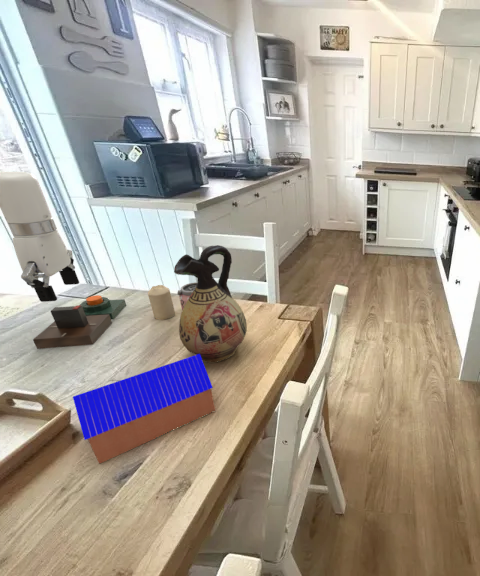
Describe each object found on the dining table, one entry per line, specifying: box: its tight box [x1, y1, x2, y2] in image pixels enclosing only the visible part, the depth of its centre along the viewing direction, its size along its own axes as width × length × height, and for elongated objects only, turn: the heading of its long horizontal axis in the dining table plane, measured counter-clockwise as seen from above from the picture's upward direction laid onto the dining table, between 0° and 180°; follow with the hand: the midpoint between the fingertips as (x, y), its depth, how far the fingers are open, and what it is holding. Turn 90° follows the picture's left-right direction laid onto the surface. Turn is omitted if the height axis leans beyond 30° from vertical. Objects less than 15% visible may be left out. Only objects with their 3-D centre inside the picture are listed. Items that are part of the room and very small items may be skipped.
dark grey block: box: [50, 304, 88, 329], centre depth 87 cm, size 6×2×6 cm, turn 105°
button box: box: [79, 296, 127, 321], centre depth 99 cm, size 11×9×4 cm
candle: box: [147, 284, 176, 321], centre depth 99 cm, size 6×6×10 cm
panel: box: [32, 314, 113, 350], centre depth 89 cm, size 12×11×3 cm
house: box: [72, 354, 216, 464], centre depth 64 cm, size 12×20×12 cm, turn 132°
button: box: [85, 294, 103, 305], centre depth 98 cm, size 4×4×2 cm
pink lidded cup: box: [176, 281, 198, 312], centre depth 97 cm, size 9×8×12 cm
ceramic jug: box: [173, 244, 248, 363], centre depth 81 cm, size 17×15×30 cm
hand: (61, 292), depth 84 cm, fingers open, 9 cm apart
